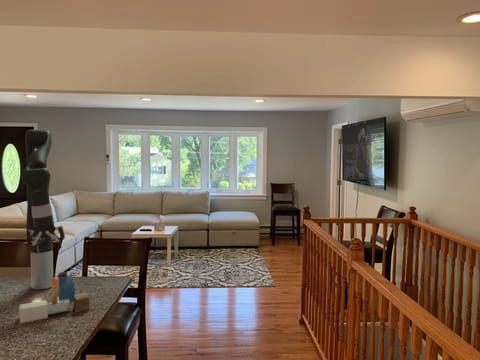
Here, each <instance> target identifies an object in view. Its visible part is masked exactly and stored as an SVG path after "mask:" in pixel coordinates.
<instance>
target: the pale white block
mask: <svg viewBox="0 0 480 360" xmlns="http://www.w3.org/2000/svg"><path fill="white" fill-rule="evenodd" d="M47 303H48V301H47V300H46V299H44V300H39V301H35V302H28V303H23V304H22V303H21V304H19V306H18V307H19V310H18V311H19V315H18V316H19V323H20V324H24V323H30V322H34V321H38V320H44V319H48V316H49V314H48V308H47Z"/></svg>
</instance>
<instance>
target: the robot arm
mask: <svg viewBox="0 0 480 360" xmlns="http://www.w3.org/2000/svg"><path fill="white" fill-rule="evenodd" d="M24 139H25V154H26V166H25V168H24V169H23V171H22V173H21V181H22V184H23V185H25V186H26V201H27V202H26V203H27V205H26V222H25V223H26V225H25V226H26V227H25V231H26V242H27V245H31V246H30V284H31V285H30V286H31V289H32V290H45V289H49V288H52V280H51V278H52V277H54V256H53V255H54V252H53V250H54V249H53V248H54V247H53V245H54V244H53V240H54V241H56V249H57V251H60V250H61V249H62V241H63V240H64V239H65V238H66V237H65V232H64V231H65V230H64V227H63V225H59V226H55V222H54V216H53V209H52V204H51V202H50V194H49V191H50V189H49V188H50V182H51V172H50V170H49V168H47V166H48V165H47V164H48V162H47V161H48V158H49V154H50V151H51V148H52V144H53V143H52V141H53V137H52V133H51V132H50V130H47V129H28V130H26V131H25V136H24ZM55 231H57V232H58V234H59V236H58V234H57V233H56V232H55ZM33 238H34V240H33ZM40 239H41V240H40ZM39 240H40V241H39Z"/></svg>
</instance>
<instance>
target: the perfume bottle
mask: <svg viewBox="0 0 480 360" xmlns="http://www.w3.org/2000/svg"><path fill="white" fill-rule="evenodd" d="M58 275H59V276H58V285H59V301H60V300H65V299H69V301H70V302H71V301H74V295H76V294H75V292H76V291H75V290H76V289H75V284H74V282H73V281H72V280H71V279H68V272H67V271H62V272H59V273H58Z"/></svg>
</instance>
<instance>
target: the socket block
mask: <svg viewBox="0 0 480 360" xmlns="http://www.w3.org/2000/svg"><path fill="white" fill-rule="evenodd" d="M73 308H74V311H75V312H76V313H78V312H82V311H89V310H90V295H89V294H88V293H87V292H83V293H77V294H75V295H74V300H73Z"/></svg>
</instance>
